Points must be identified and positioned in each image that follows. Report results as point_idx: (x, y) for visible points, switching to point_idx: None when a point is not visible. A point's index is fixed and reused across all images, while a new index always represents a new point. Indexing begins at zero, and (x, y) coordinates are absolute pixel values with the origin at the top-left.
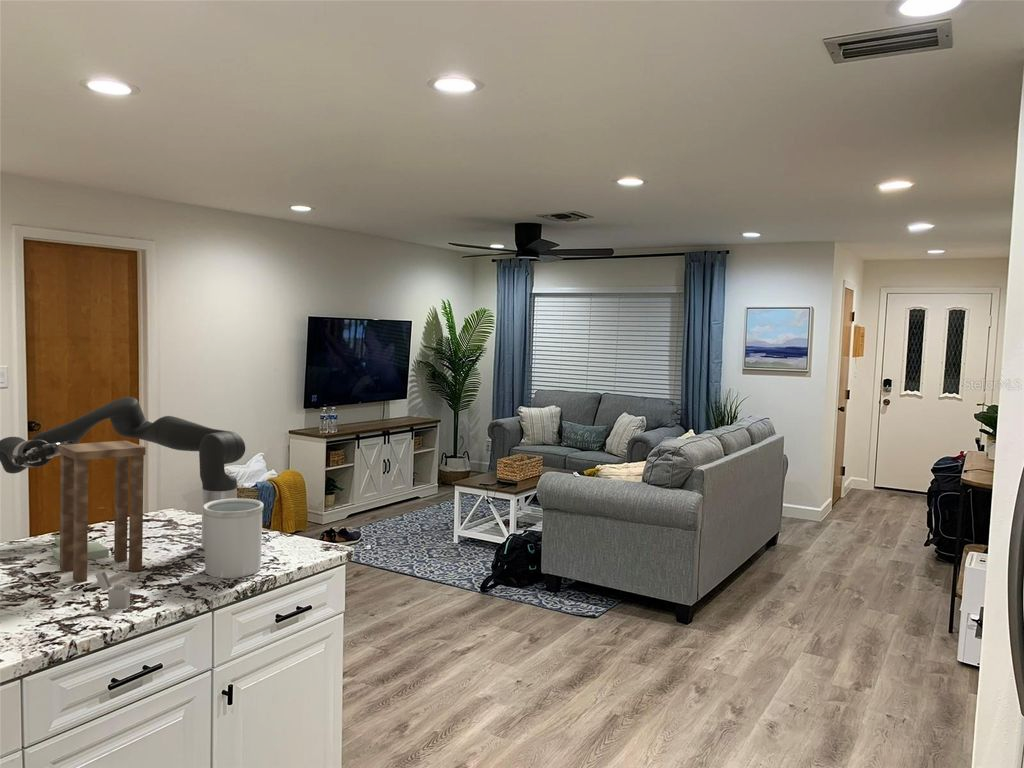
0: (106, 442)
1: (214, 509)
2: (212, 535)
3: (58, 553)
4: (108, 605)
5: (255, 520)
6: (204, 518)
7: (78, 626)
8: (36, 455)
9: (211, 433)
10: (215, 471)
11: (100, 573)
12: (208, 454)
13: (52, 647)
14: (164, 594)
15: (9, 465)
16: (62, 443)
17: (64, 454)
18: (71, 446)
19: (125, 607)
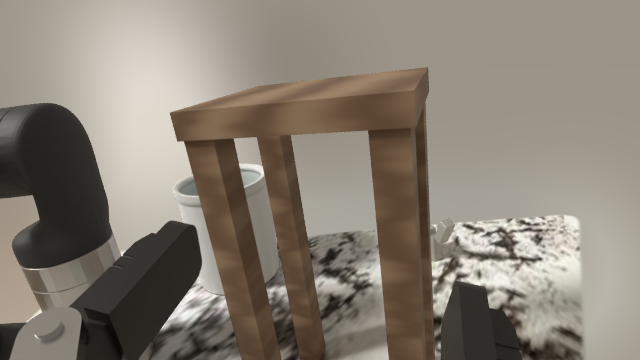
0: (246, 103)
1: None
2: (270, 210)
3: None
4: (441, 255)
5: None
6: (256, 200)
7: (493, 239)
8: (454, 294)
9: (35, 104)
10: (101, 187)
11: (449, 219)
12: (79, 154)
13: (531, 219)
14: (364, 256)
15: None
16: (55, 349)
17: (421, 108)
18: (390, 84)
19: None
